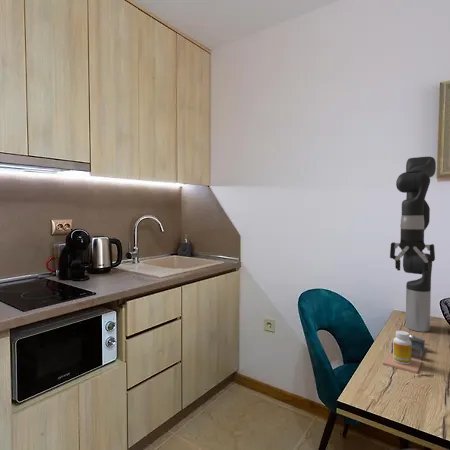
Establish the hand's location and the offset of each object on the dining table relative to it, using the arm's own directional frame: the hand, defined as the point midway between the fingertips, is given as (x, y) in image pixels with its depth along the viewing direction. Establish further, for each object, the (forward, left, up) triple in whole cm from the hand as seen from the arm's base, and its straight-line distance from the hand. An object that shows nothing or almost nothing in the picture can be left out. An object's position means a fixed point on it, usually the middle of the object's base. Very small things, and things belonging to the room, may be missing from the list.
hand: (411, 271), depth 119 cm
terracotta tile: (+15, 0, -29) cm, 33 cm away
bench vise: (0, 0, -29) cm, 29 cm away
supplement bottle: (+15, 0, -29) cm, 32 cm away
